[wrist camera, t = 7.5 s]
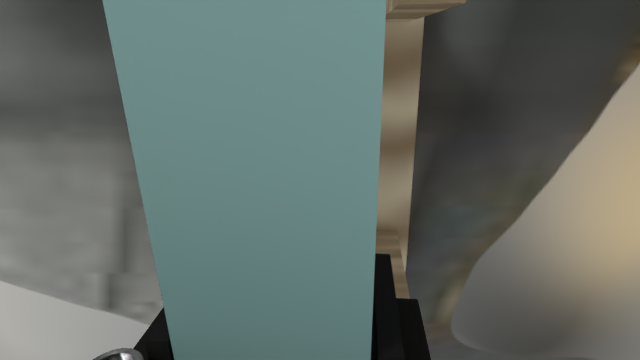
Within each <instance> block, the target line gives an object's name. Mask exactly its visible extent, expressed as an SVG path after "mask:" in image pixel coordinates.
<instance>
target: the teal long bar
mask: <svg viewBox="0 0 640 360" xmlns="http://www.w3.org/2000/svg"><path fill="white" fill-rule="evenodd" d="M102 1H103V6H104V11H105V16H106V21H107V26H108V31H109V36H110V41H111V46H112V51H113V56H114V61H115V66H116V71H117V76H118V81H119V86H120V91H121V96H122V101H123V106H124V111H125V116H126V121H127V126H128V131H129V136H130V141H131V146H132V151H133V156H134V161H135V166H136V171H137V176H138V181H139V186H140V191H141V196H142V201H143V206H144V211H145V216H146V221H147V226H148V231H149V236H150V241H151V246H152V251H153V256H154V261H155V266H156V271H157V276H158V281H159V286H160V291H161V296H162V301H163V306H164V311H165V316H166V321H167V326H168V331H169V336H170V341H171V346H172V351H173V356H174V360H371V340H372V317H373V294H374V271H375V249H376V226H377V203H378V180H379V157H380V135H381V112H382V89H383V66H384V43H385V21H386V0H102Z"/></svg>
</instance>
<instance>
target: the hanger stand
mask: <svg viewBox="0 0 640 360" xmlns="http://www.w3.org/2000/svg"><path fill="white" fill-rule="evenodd" d="M464 3H466V0H386V21H385V43H384V66H383V89H382V112H381V135H380V157H379V180H378V203H377V226H376V249H375V253H378V254H390V257H391V264H392V271H393V278H394V285H395V293H396V298H408V299H410V296H409V290H408V285H407V280H406V275H405V271H406V260H407V246H408V233H409V219H410V206H411V192H412V179H413V165H414V152H415V138H416V125H417V111H418V98H419V84H420V71H421V57H422V44H423V30H424V17H425V16H428V15H431V14H434V13H437V12H440V11H443V10H446V9H449V8H452V7H455V6H458V5H461V4H464Z"/></svg>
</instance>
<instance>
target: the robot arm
mask: <svg viewBox="0 0 640 360" xmlns="http://www.w3.org/2000/svg"><path fill="white" fill-rule="evenodd" d="M93 360H174V356H173V351H172V346H171V341H170V336H169V331H168V326H167V321H166V316H165V311H164V307H163V309H162V310H161V312H160V313H159V314H158V316H157V317H156V318H155V320H154V321H153V322H152V324H151V325H150V327H149V328H148V329H147V331H146V332H145V333H144V335H143V336H142V338H141V339H140V340H139V342H138V343H137V344H136V346H135V347H134V349H130V348H129V349H128V348H121V349H115V350H112V351H109V352H106V353H104V354H102V355H100V356H98V357H96V358H95V359H93ZM371 360H431V358H430V353H429V349H428V344H427V340H426V335H425V331H424V326H423V322H422V317H421V313H420V308H419V304H418V300H417V299H408V298H396V293H395V285H394V278H393V271H392V264H391V257H390V254H378V253H375V271H374V294H373V317H372V340H371Z"/></svg>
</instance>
